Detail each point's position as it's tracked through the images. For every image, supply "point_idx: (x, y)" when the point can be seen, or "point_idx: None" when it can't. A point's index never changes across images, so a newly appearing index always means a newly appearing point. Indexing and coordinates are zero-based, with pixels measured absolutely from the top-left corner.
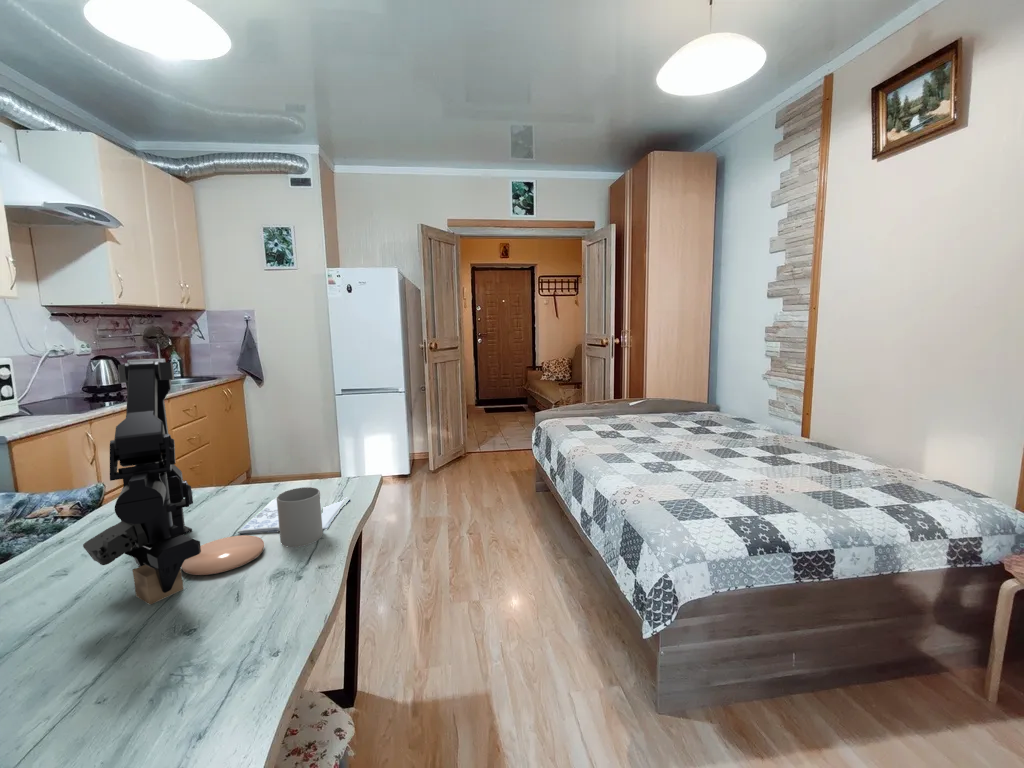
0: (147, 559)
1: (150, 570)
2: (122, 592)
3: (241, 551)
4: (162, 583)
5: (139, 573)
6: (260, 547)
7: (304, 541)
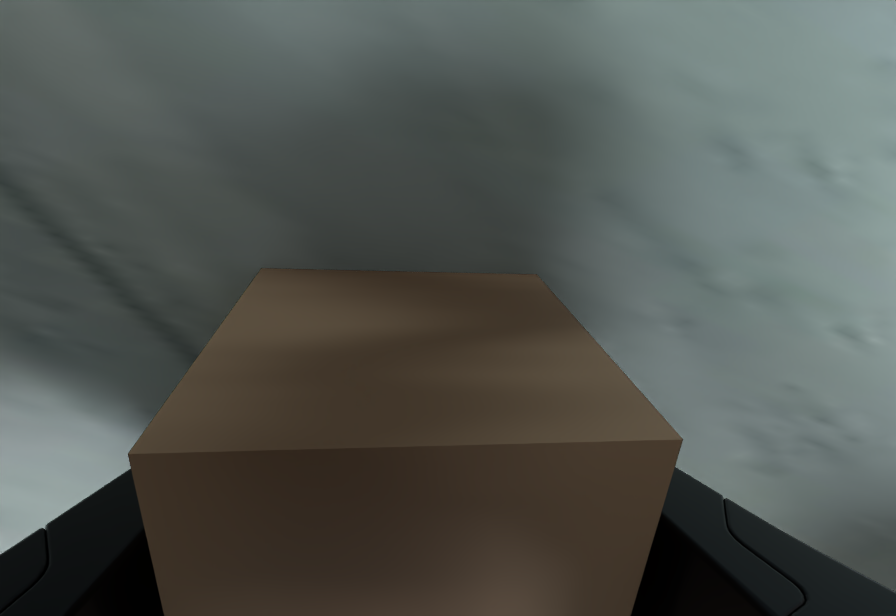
0: None
1: (358, 557)
2: (716, 248)
3: None
4: (125, 474)
5: (419, 445)
6: None
7: None
